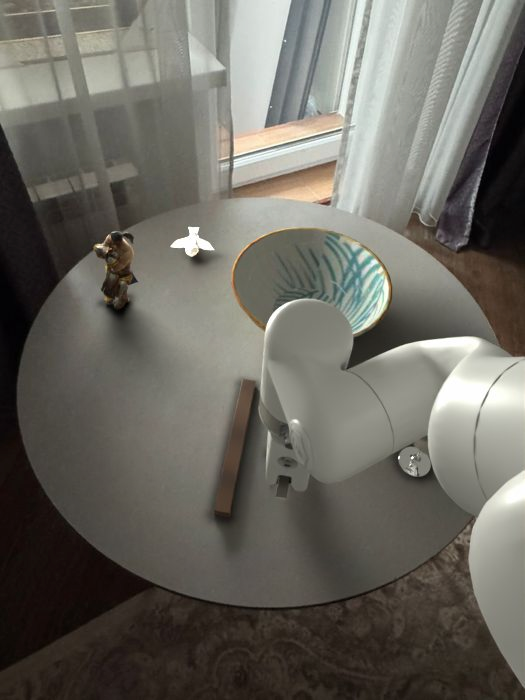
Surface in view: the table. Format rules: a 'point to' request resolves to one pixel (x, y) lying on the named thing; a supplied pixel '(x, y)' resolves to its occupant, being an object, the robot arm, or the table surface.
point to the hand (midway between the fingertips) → (282, 476)
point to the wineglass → (416, 458)
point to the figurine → (116, 267)
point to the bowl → (311, 276)
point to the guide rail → (235, 449)
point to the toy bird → (192, 243)
